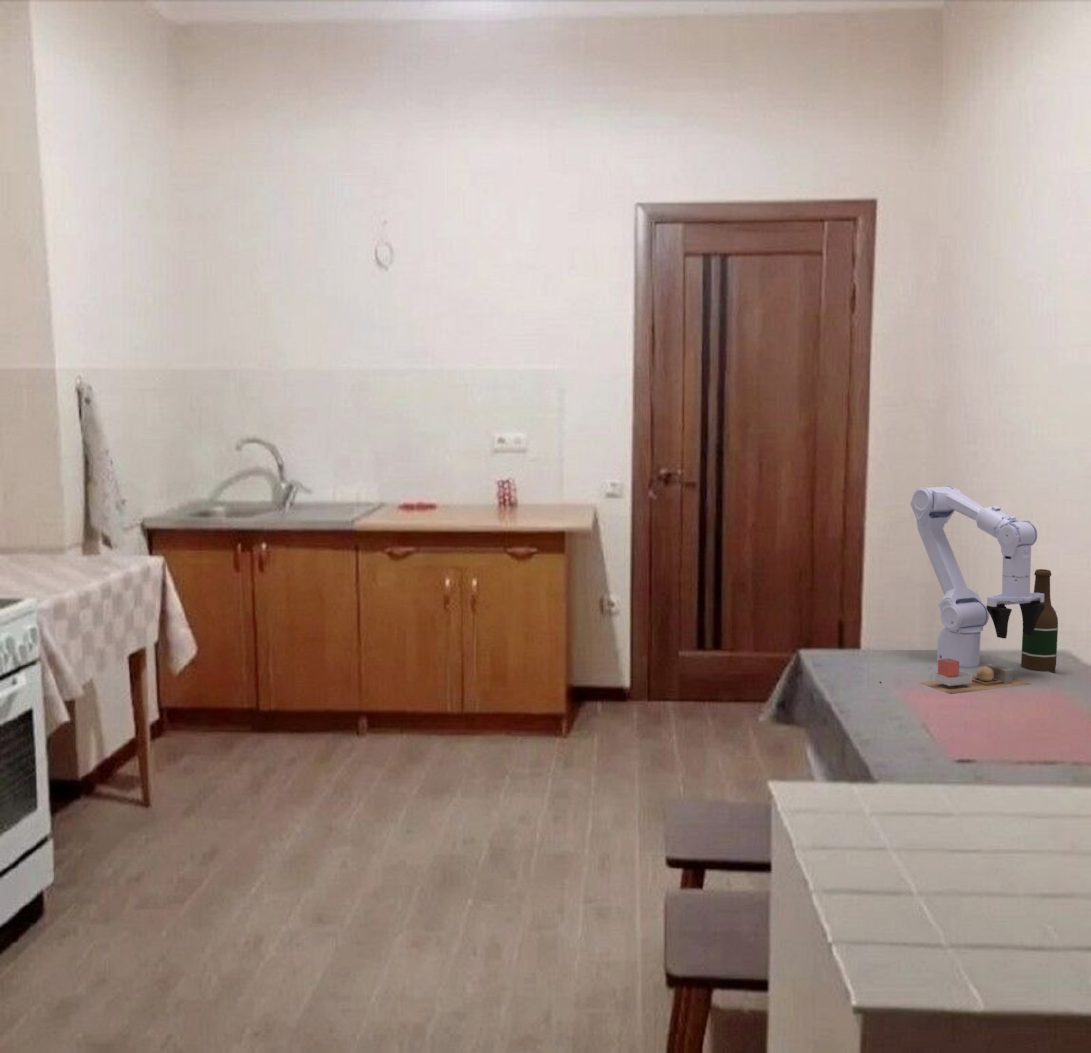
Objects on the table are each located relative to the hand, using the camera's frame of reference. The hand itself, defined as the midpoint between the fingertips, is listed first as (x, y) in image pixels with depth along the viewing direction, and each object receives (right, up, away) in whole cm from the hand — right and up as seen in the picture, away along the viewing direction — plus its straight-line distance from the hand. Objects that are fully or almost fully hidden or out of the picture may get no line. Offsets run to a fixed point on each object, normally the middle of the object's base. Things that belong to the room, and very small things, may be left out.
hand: (1014, 636), depth 246 cm
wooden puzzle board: (-11, -11, -4) cm, 16 cm away
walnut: (-8, -10, -4) cm, 13 cm away
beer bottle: (+10, -10, +10) cm, 17 cm away
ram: (-16, -9, -7) cm, 20 cm away
